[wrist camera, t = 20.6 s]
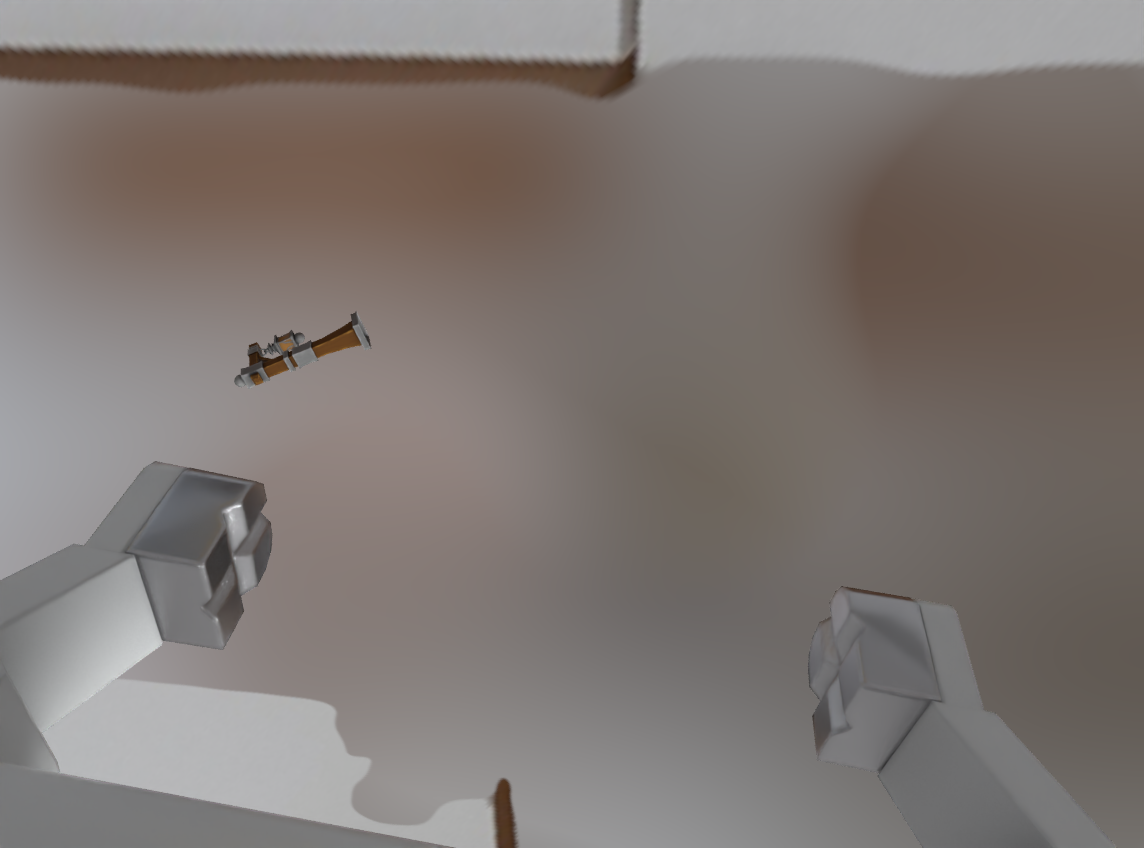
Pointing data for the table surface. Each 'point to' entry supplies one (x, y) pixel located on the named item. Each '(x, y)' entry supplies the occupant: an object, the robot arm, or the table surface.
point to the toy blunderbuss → (299, 352)
